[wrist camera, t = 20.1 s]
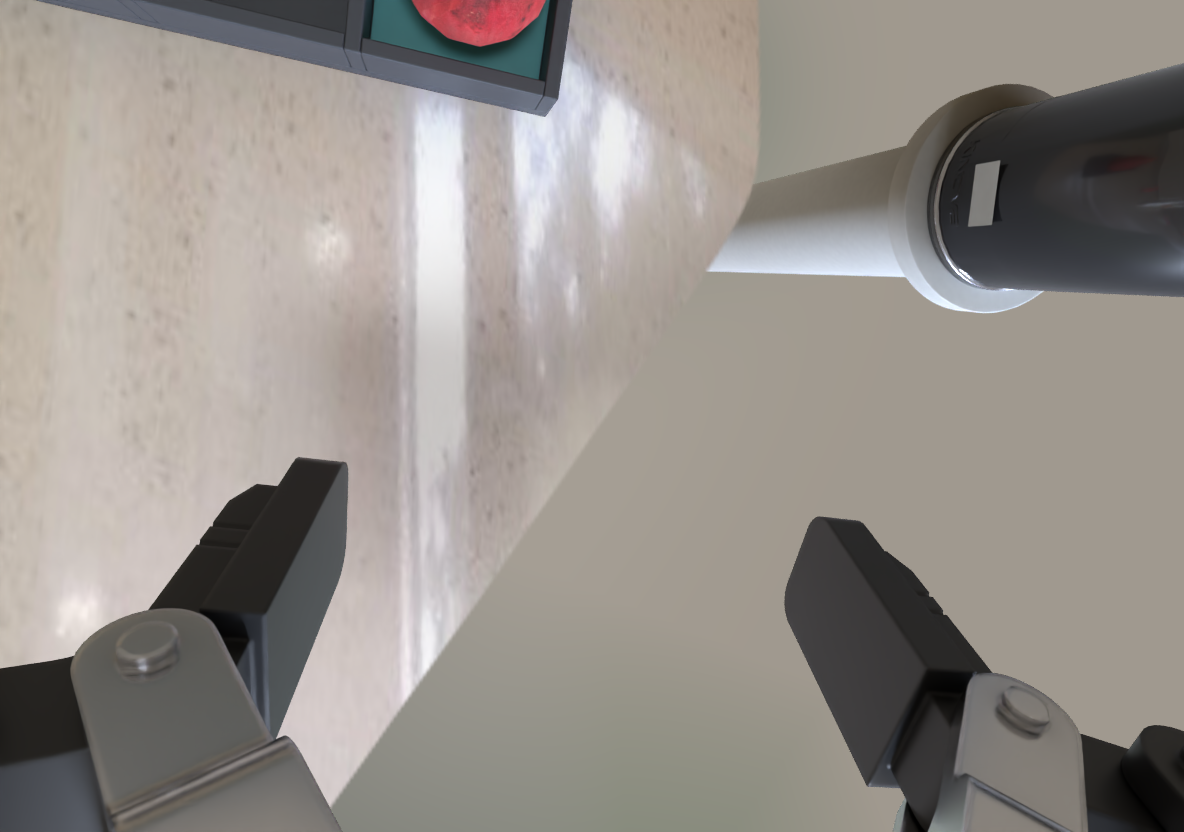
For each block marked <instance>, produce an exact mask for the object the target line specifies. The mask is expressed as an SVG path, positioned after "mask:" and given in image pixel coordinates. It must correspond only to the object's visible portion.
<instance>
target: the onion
mask: <svg viewBox="0 0 1184 832" xmlns="http://www.w3.org/2000/svg"><path fill="white" fill-rule="evenodd" d="M545 1H546V0H412V2H413V3H414V5H415V7H416V8H417V10H418V12H419V13H420V15H421V16H422V17H423V18H424V19H425V20H426V21H428V22H429V23H430V24H431V25H432V26H434V27H435V28H436V29H437V30H439V31H440V32H441V33H442V34H443V35H445V36H446V37H447V38H449V39H452V40H456V41H460V42H464V43H468V44H472V45H475V46H479V47H481V46H485V45H489V44H493V43H498V42H502V41H506V40H510V39H511V38H513V37H515V36H516V35H517V34H518V33H519V32H520V31H522V30H523V29H524V28H525V27H526V26H527V25H529V24H530V23H531V22H532V21H533V20H534V19H535V18H537V17H538V15H539V13H540V11H541V9H542V7H543V5H544V3H545Z"/></svg>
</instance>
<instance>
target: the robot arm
mask: <svg viewBox="0 0 1184 832" xmlns="http://www.w3.org/2000/svg"><path fill="white" fill-rule="evenodd" d="M927 223H928V230H929V235H930V239H931V242H932V245H933V248H934V250H935V252H936V254H937V256H938V258H939V260H940V261H941V263H942V264H943V266H944V267H945V268H946V269H947V270H948V271H949V273H951V274H952V275H953V276H954V277H955V278H956V279H958V280H959V281H961V282H963V283H964V284H966V285H969V286H971V287H974V288H978V289H983V290H997V291H1006V290H1013V289H1016V290H1038V291H1055V292H1079V293H1102V294H1125V295H1147V296H1170V297H1184V63H1182V64H1178V65H1174V66H1171V67H1167V68H1164V69H1160V70H1156V71H1152V72H1149V73H1145V74H1141V75H1138V76H1134V77H1130V78H1126V79H1122V80H1119V81H1115V82H1112V83H1108V84H1104V85H1100V86H1096V87H1093V88H1089V89H1085V90H1082V91H1078V92H1074V93H1071V94H1067V95H1063V96H1059V97H1055V98H1051V99H1047V100H1044V101H1040V102H1036V103H1033V104H1029V105H1026V106H1018V107H1011V108H1006V109H1003V110H999V111H995V112H992V113H989V114H986V115H984V116H982V117H980V118H978V119H976V120H975V121H973V122H972V123H970V124H969V125H967V126H966V127H965V128H964V129H963V130H962V131H961V132H960V133H959V134H958V135H957V136H956V137H955V138H954V139H953V140H952V141H951V143H950V144H949V145H948V147H947V148H946V150H945V151H944V153H943V155H942V156H941V158H940V160H939V162H938V164H937V166H936V169H935V171H934V174H933V177H932V180H931V184H930V188H929V193H928V201H927ZM347 501H348V466H347V464H346V463H345V462H337V461H328V460H319V459H311V458H302V457H298V458H296V459H295V461H294V462H293V463H292V465H291V467H290V468H289V470H288V471H287V473H286V474H285V476H284V477H283V479H282V481H281V482H280V484H279V485H278V486H270V485H261V484H256V485H254V486H253V487H251V488H250V489H248V490H246V491H245V492H243V493H241V494H240V495H238V496H236V497H235V498H233V499H231V500H230V501H229V502H228V503H227V504H226V506H225V507H224V508H223V510H222V511H221V513H220V514H219V515H218V517H217V518H216V519H215V521H214V522H213V526H212V527H211V526H210V527H209V529H208V530H207V531H206V533H205V534H204V535H203V537H202V538H201V539H200V544H199V545H196V546H195V548H194V549H193V550H192V552H191V553H190V554H189V556H188V557H187V558H186V560H185V561H184V562H183V564H182V565H181V566H180V568H179V569H178V571H177V572H176V573H175V575H174V576H173V577H172V579H171V580H170V581H169V583H168V584H167V585H166V587H165V588H164V589H163V591H162V592H161V593H160V595H159V596H158V598H157V599H156V600H155V602H154V603H153V604H152V606H151V607H150V608H149V610H147V611H143V612H139V613H135V614H131V615H129V616H126V617H123V618H120V619H118V620H116V621H114V622H112V623H110V624H108V625H106V626H105V627H103V628H101V629H99V630H98V631H97V632H95V633H94V634H93V635H91V636H90V637H89V638H88V639H87V640H86V641H85V642H84V643H83V644H82V645H81V646H80V648H79V649H78V650H77V652H76V653H75V655H74V656H72V657H68V658H64V659H58V660H53V661H47V662H41V663H34V664H27V665H21V666H14V667H8V668H1V669H0V832H342V830H341V828H340V826H339V824H338V822H337V820H336V818H335V817H334V815H333V813H332V811H331V809H330V807H329V805H328V803H327V801H326V800H325V798H324V796H323V794H322V792H321V790H320V788H319V786H318V784H317V783H316V781H315V779H314V777H313V775H312V773H311V771H310V769H309V767H308V766H307V764H306V762H305V760H304V758H303V756H302V754H301V753H300V751H299V749H298V747H297V746H296V745H295V743H294V742H293V741H292V740H291V739H290V738H289V737H288V736H282V737H280V738H278V739H276V737H277V735H278V732H279V730H280V727H281V725H282V722H283V720H284V717H285V715H286V712H287V710H288V707H289V705H290V702H291V700H292V697H293V695H294V692H295V689H296V687H297V684H298V682H299V679H300V677H301V674H302V672H303V669H304V667H305V664H306V662H307V659H308V657H309V654H310V652H311V649H312V647H313V644H314V642H315V639H316V637H317V634H318V632H319V629H320V626H321V624H322V621H323V619H324V616H325V614H326V611H327V609H328V606H329V604H330V601H331V599H332V596H333V594H334V591H335V589H336V586H337V584H338V581H339V578H340V575H341V571H342V567H343V562H344V556H345V549H346V532H347ZM785 612H786V616H787V620H788V622H789V625H790V627H791V629H792V631H793V633H794V635H795V637H796V639H797V641H798V643H799V645H800V647H801V650H802V652H803V654H804V656H805V658H806V660H807V662H808V664H809V666H810V668H811V671H812V672H813V675H814V677H815V679H816V681H817V683H818V685H819V687H820V689H821V691H822V693H823V695H824V698H825V700H826V702H827V704H828V706H829V708H830V710H831V712H832V714H833V716H834V718H835V721H836V722H837V724H838V727H839V729H840V731H841V733H842V735H843V737H844V739H845V741H846V743H847V746H848V747H849V750H850V752H851V754H852V756H853V758H854V760H855V762H856V764H857V766H858V768H859V770H860V773H861V775H862V777H863V779H864V781H865V783H866V785H867V786H868V787H869V786H870V787H889V788H901V790H902V792H903V794H904V796H905V799H904V801H903V803H902V805H901V806H900V808H899V810H898V812H897V815H896V819H895V824H894V828H893V832H1184V731H1181V730H1178V729H1175V728H1172V727H1167V726H1160V725H1153V726H1148V727H1146V728H1144V729H1143V731H1142V732H1141V733H1140V735H1139V736H1138V737H1137V739H1136V740H1135V742H1134V743H1133V744H1132V746H1131V747H1130V748H1129V749H1126V748H1123V747H1120V746H1117V745H1114V744H1111V743H1108V742H1105V741H1102V740H1099V739H1095V738H1092V737H1089V736H1086V735H1083V734H1080V733H1079V731H1078V728H1077V727H1076V725H1075V724H1074V722H1073V721H1072V719H1071V718H1070V717H1069V716H1068V714H1067V713H1066V712H1065V711H1064V710H1063V709H1062V708H1060V706H1059V705H1057V704H1056V703H1055V702H1054V701H1053V700H1052V699H1050V698H1049V697H1047V696H1046V695H1045V694H1043V693H1042V692H1040V691H1039V690H1037V689H1035V688H1034V687H1032V686H1030V685H1028V684H1026V683H1024V682H1022V681H1020V680H1017V679H1015V678H1012V677H1009V676H1006V675H1002V674H997V673H992V672H991V671H990V669H989V668H988V667H987V666H986V664H985V663H984V662H983V660H982V659H981V658H980V657H979V655H978V654H977V653H976V652H975V650H974V649H973V648H972V646H971V645H970V644H969V643H968V641H967V640H966V639H965V638H964V636H963V635H962V634H961V633H960V631H959V630H958V629H957V627H956V626H955V625H954V624H953V623H952V621H951V620H950V619H949V617H948V616H947V615H943V610H942V608H941V607H940V606H939V605H938V603H937V602H936V601H935V599H934V598H933V597H929V592H928V591H927V589H926V588H925V587H924V586H923V584H922V583H921V582H920V581H919V579H918V578H917V577H916V576H915V574H914V573H913V572H912V571H911V570H910V569H909V568H907V567H906V566H905V565H903V564H902V563H901V562H899V561H898V560H897V559H896V558H894V557H893V556H892V555H891V554H889V553H888V552H886V551H884V550H883V549H882V547H881V546H880V545H879V543H878V542H877V541H876V539H875V538H874V537H873V535H872V534H871V533H870V531H869V530H868V529H867V528H866V526H865V525H864V524H863V523H861V522H860V521H856V520H847V519H837V518H829V517H816V518H815V519H813V520H812V522H811V523H810V525H809V527H808V529H807V532H806V534H805V537H804V540H803V543H802V545H801V548H800V551H799V554H798V556H797V559H796V561H795V564H794V567H793V570H792V572H791V575H790V578H789V580H788V583H787V587H786V591H785Z"/></svg>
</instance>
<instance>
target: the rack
mask: <svg viewBox="0 0 1184 832" xmlns="http://www.w3.org/2000/svg"><path fill="white" fill-rule="evenodd" d="M37 1H41V2H46V3H50V4H54V5H59V6H63V7H68V8H72V9H76V10H81V11H85V12H89V13H94V14H98V15H103V16H107V17H111V18H116V19H120V20H124V21H129V22H133V23H138V24H142V25H146V26H151V27H155V28H159V29H164V30H168V31H172V32H177V33H181V34H186V35H190V36H194V37H199V38H203V39H207V40H212V41H216V42H221V43H225V44H229V45H234V46H238V47H242V48H247V49H251V50H256V51H260V52H264V53H269V54H273V55H277V56H282V57H286V58H291V59H295V60H299V61H304V62H308V63H312V64H317V65H321V66H326V67H330V68H334V69H339V70H343V71H347V72H352V73H356V74H361V75H365V76H369V77H374V78H378V79H382V80H387V81H391V82H396V83H400V84H404V85H409V86H413V87H417V88H422V89H426V90H431V91H435V92H439V93H444V94H448V95H452V96H457V97H461V98H465V99H470V100H474V101H479V102H483V103H487V104H492V105H496V106H500V107H505V108H509V109H514V110H518V111H522V112H527V113H531V114H535V115H540V116H544V117H545V116H546V115H547V114H548V112H549V111H550V109H551V108H552V107H553V105H554V104H555V103H556V101H557V100H558V96H559V89H560V82H561V75H562V69H563V62H564V55H565V48H566V41H567V34H568V28H569V21H570V14H571V7H572V0H546V1H545V3H544V5H543V7H542V9H541V11H540V13H539V15H538V17H537V18H535V19H534V20H533V21H532V22H531V23H530V24H529V25H527V26H526V27H525V28H524V29H523V30H522V31H520V32H519V33H518V34H517V35H516V36H515V37H513V38H511V39H510V40H506V41H502V42H498V43H493V44H489V45H485V46H481V47H479V46H475V45H472V44H468V43H464V42H460V41H456V40H452V39H449V38H447V37H446V36H445V35H443V34H442V33H441V32H440V31H439V30H437V29H436V28H435V27H434V26H432V25H431V24H430V23H429V22H428V21H426V20H425V19H424V18H423V17H422V16H421V15H420V13H419V12H418V10H417V8H416V7H415V5H414V3H413V2H412V0H37Z"/></svg>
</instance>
